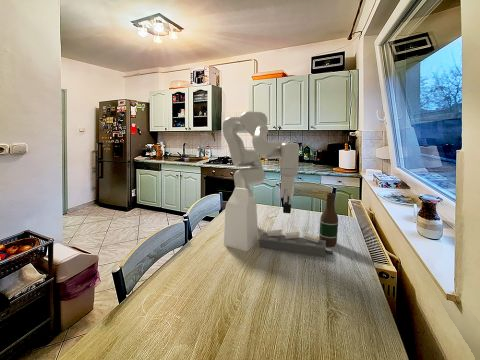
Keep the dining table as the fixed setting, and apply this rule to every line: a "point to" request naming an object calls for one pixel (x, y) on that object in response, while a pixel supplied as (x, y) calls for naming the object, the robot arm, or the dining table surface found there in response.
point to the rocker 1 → (274, 232)
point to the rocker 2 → (311, 237)
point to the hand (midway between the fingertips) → (286, 212)
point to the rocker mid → (292, 235)
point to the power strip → (294, 245)
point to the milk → (240, 220)
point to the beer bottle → (329, 223)
